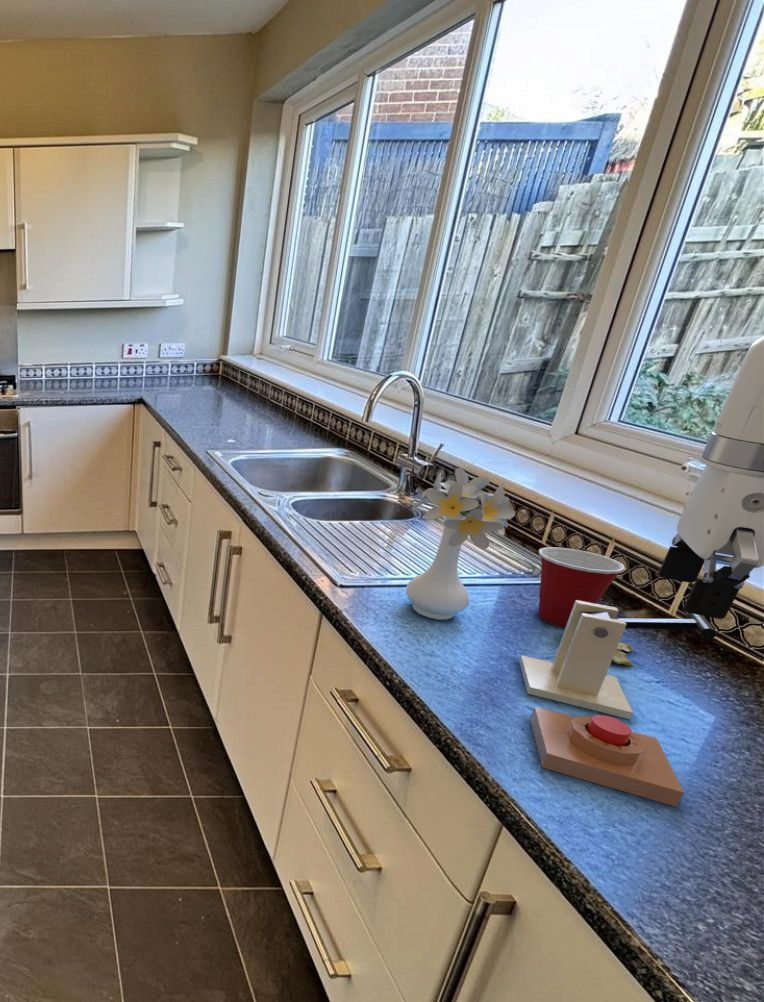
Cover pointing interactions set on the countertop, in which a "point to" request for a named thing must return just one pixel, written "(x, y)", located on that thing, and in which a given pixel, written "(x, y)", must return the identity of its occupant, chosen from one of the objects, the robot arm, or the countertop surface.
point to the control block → (604, 757)
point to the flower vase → (456, 540)
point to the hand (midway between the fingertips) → (688, 595)
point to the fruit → (622, 654)
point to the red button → (609, 730)
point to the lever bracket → (582, 664)
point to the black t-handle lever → (667, 623)
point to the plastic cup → (572, 581)
